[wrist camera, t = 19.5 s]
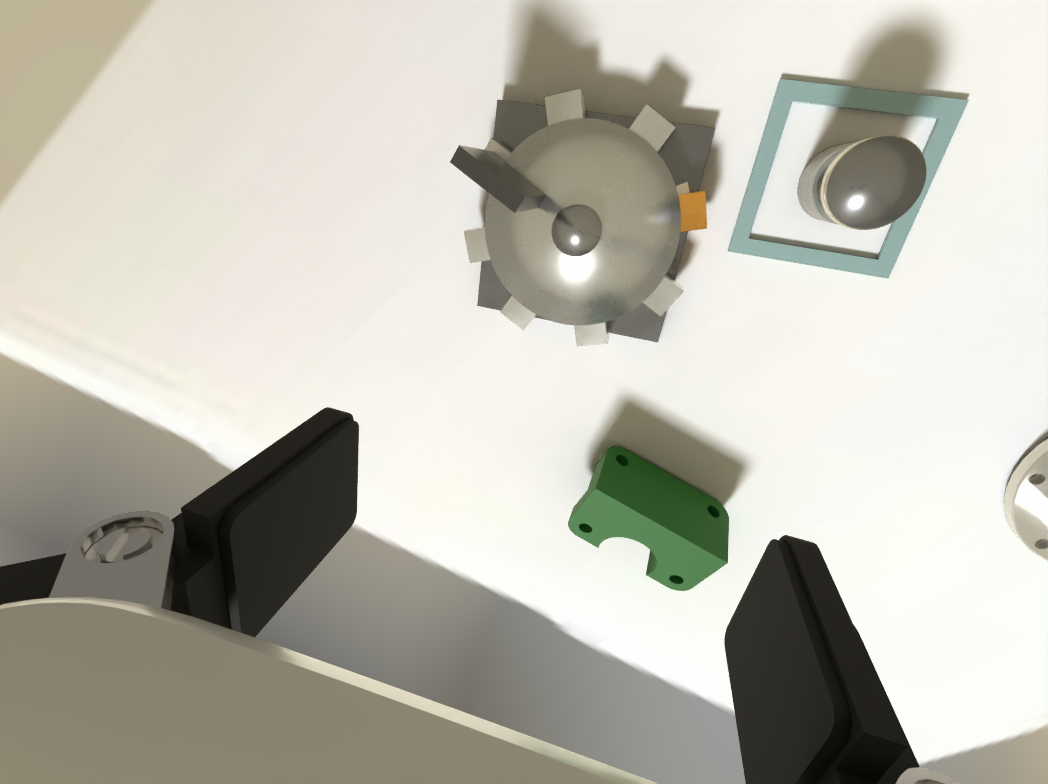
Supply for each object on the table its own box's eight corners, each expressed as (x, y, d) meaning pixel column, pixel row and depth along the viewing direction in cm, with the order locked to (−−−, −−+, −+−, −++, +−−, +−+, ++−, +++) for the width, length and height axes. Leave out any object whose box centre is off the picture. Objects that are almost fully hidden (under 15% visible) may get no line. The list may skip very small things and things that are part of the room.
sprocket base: (713, 129, 31) (715, 127, 30) (657, 338, 37) (657, 342, 36) (501, 101, 33) (496, 99, 32) (481, 302, 39) (476, 306, 38)
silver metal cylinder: (892, 148, 29) (944, 141, 24) (860, 227, 31) (902, 236, 26) (812, 138, 30) (846, 129, 25) (786, 215, 32) (812, 222, 27)
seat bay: (965, 100, 28) (968, 100, 27) (886, 277, 32) (888, 278, 32) (779, 79, 29) (780, 78, 29) (727, 250, 34) (728, 251, 33)
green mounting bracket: (606, 465, 47) (548, 511, 41) (638, 426, 43) (578, 471, 37) (704, 563, 43) (656, 630, 37) (749, 530, 39) (703, 599, 33)
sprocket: (558, 35, 30) (530, -8, 23) (760, 199, 31) (789, 204, 24) (433, 251, 37) (383, 266, 30) (599, 380, 38) (586, 423, 31)
